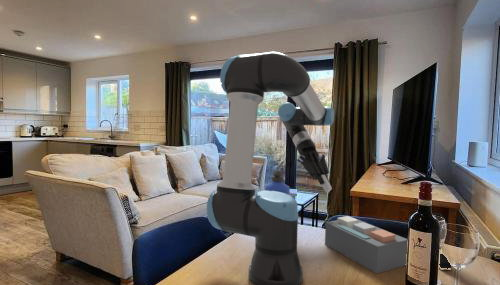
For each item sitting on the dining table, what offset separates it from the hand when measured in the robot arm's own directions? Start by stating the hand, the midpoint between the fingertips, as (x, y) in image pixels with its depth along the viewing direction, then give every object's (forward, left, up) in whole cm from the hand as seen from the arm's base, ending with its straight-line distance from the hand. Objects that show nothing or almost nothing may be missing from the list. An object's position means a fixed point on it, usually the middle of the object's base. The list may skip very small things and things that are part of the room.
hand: (328, 190), depth 115 cm
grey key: (-6, -17, -11) cm, 21 cm away
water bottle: (-16, +13, -18) cm, 27 cm away
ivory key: (-4, -10, -11) cm, 15 cm away
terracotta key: (-8, -25, -11) cm, 28 cm away
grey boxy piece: (-6, -17, -17) cm, 25 cm away
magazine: (+5, -36, -18) cm, 41 cm away
